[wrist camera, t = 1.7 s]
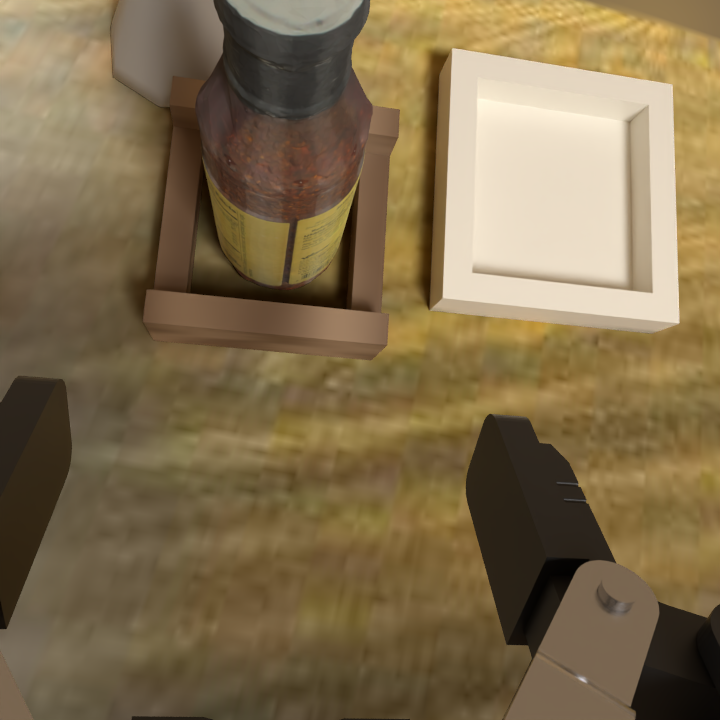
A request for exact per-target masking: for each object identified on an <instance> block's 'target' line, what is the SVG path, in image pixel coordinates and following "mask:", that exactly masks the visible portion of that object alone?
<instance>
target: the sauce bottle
mask: <svg viewBox="0 0 720 720" xmlns="http://www.w3.org/2000/svg"><path fill="white" fill-rule="evenodd" d="M213 1H214V7H215V9H216V11H217V14H218V17H219V20H220V22H221V23H222V24H223V30H224V40H223V53H222V55H221V57H220V59H219V61H218V63H217V65H216V67H215V68H214V70H213V72H212V74H211V75H210V77H209V78H208V80H207V81H206V82H205V83H204V84H203V85H202V87H201V88H200V90H199V93H198V95H197V98H196V103H195V112H196V116H197V121H198V125H199V130H200V137H201V152H202V159H203V164H204V168H205V173H206V177H207V182H208V187H209V192H210V197H211V202H212V207H213V212H214V217H215V223H216V228H217V233H218V238H219V241H220V245H221V248H222V251H223V252H224V254H225V255H226V256H227V258H228V259H229V261H230V262H231V263H232V264H233V265H234V266H235V268H236V270H237V272H238V273H239V274H240V275H241V276H242V277H243V278H244V279H246V280H249V281H251V282H253V283H255V284H257V285H259V286H264V287H268V288H271V289H279V290H292V289H295V288H299V287H302V286H304V285H306V284H308V283H310V282H311V281H312V280H313V279H315V278H316V277H317V276H319V275H320V274H321V273H322V272H323V271H325V270H326V269H327V267H328V265H329V264H330V263H331V261H332V259H333V257H334V256H335V254H336V252H337V250H338V247H339V245H340V241H341V238H342V235H343V231H344V228H345V224H346V221H347V218H348V214H349V211H350V207H351V204H352V200H353V197H354V193H355V190H356V187H357V184H358V181H359V177H360V174H361V171H362V167H363V163H364V157H365V146H366V143H367V140H368V135H369V129H370V122H371V117H372V115H373V106H372V104H371V103H370V101H369V100H368V99H367V97H366V95H365V93H364V91H363V89H362V87H361V85H360V83H359V81H358V79H357V77H356V75H355V73H354V70H353V68H352V60H351V54H352V47H353V43H354V39H355V38H356V37H357V36H358V35H359V33H360V31H361V30H362V28H363V26H364V24H365V23H366V20H367V17H368V14H369V8H370V0H213Z"/></svg>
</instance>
